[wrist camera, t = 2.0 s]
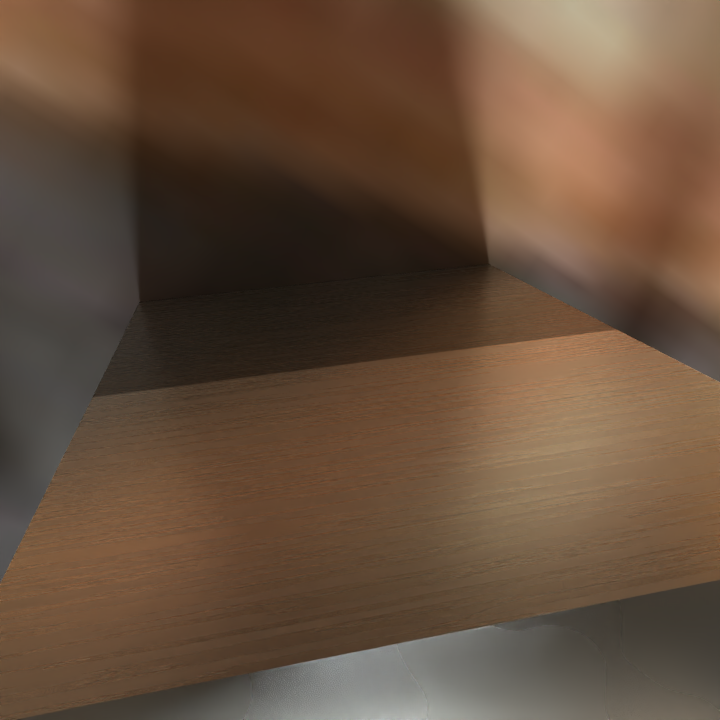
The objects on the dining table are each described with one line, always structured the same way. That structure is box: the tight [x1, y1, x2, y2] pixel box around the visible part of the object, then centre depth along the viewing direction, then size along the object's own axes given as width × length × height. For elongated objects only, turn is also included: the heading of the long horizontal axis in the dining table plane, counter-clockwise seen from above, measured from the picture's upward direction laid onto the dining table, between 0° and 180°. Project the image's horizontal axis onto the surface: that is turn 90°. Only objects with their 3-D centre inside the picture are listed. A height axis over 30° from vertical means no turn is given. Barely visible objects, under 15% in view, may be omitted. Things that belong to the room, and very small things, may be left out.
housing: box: [0, 264, 720, 720], centre depth 8 cm, size 8×5×7 cm, turn 3°
